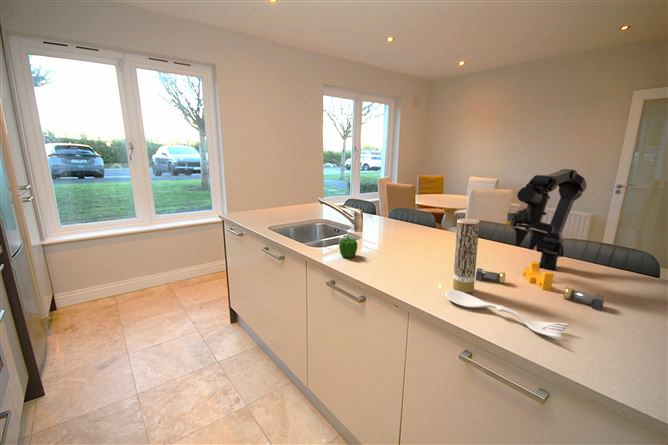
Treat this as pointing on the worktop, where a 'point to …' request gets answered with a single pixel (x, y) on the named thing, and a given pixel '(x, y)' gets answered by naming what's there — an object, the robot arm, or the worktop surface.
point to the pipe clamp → (538, 276)
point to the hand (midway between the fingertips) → (523, 247)
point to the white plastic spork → (537, 326)
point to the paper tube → (465, 254)
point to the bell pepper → (348, 247)
